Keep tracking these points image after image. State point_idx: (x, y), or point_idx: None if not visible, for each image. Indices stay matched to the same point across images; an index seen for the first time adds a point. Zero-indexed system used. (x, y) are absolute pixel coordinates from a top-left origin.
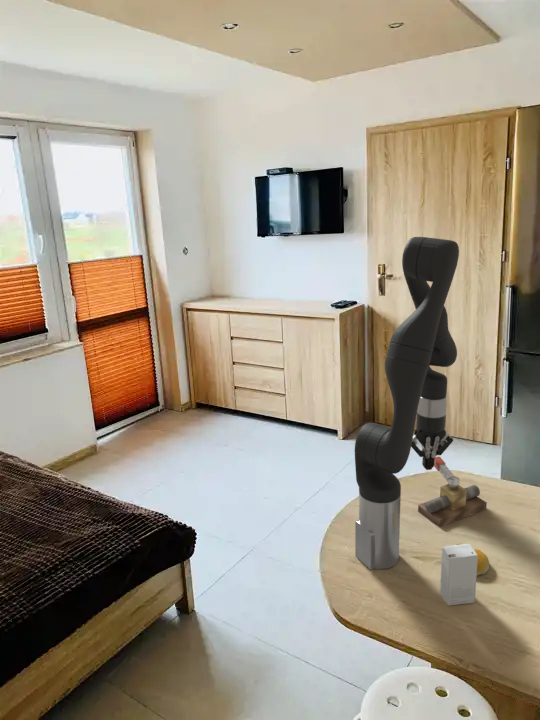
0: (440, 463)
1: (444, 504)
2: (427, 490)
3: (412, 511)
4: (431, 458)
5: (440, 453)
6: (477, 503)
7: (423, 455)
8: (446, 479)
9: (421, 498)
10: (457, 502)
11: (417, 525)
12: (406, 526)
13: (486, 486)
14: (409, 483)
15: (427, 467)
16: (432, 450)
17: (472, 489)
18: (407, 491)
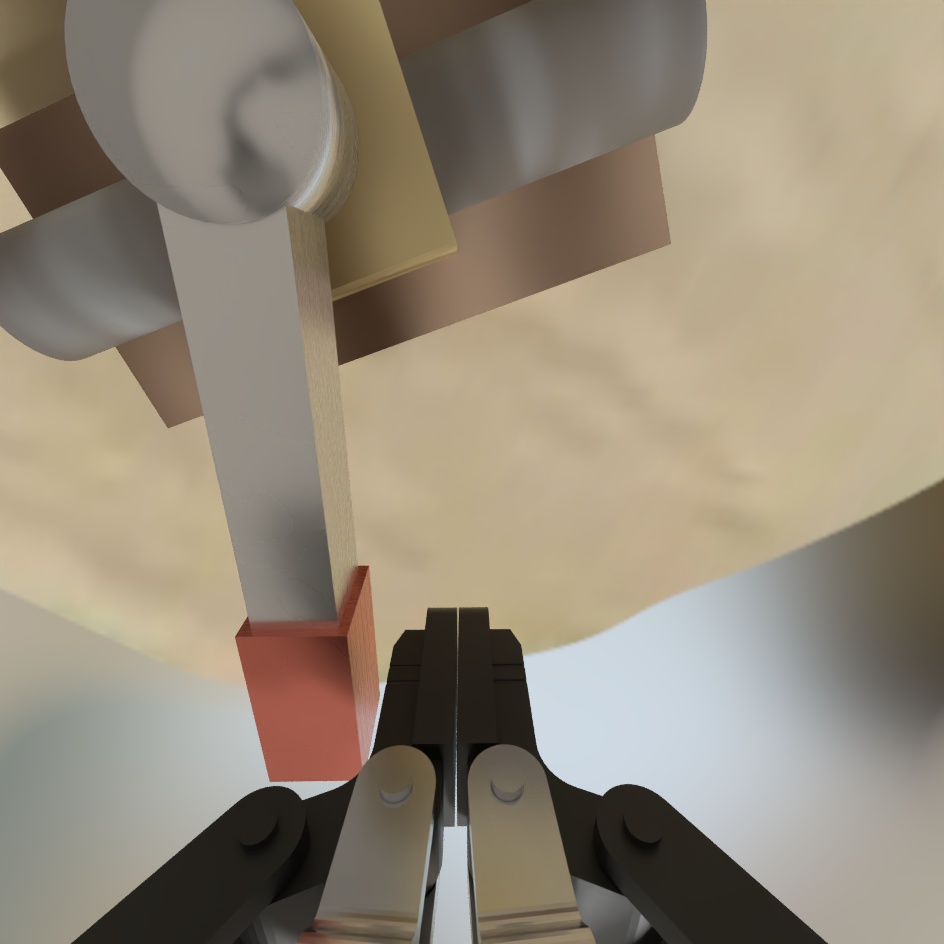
0: (311, 644)
1: (480, 24)
2: (450, 511)
3: (684, 260)
4: (431, 741)
5: (247, 830)
6: (85, 138)
7: (570, 814)
8: (331, 322)
9: (533, 424)
10: None
11: (762, 7)
12: (864, 14)
13: (4, 489)
14: (533, 602)
15: (485, 627)
16: (414, 941)
17: (44, 239)
18: (589, 522)
